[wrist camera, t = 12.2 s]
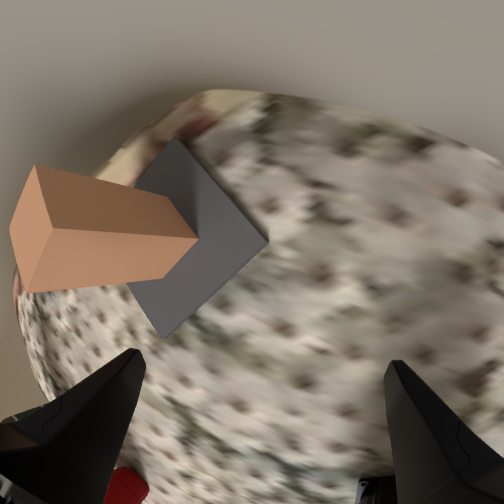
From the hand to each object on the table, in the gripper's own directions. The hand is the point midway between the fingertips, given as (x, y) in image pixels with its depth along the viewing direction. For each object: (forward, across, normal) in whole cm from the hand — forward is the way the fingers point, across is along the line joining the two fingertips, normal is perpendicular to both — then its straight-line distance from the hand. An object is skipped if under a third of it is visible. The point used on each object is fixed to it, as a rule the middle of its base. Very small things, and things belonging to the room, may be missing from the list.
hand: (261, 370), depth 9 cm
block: (+14, +10, +1) cm, 17 cm away
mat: (+15, +10, +2) cm, 18 cm away
